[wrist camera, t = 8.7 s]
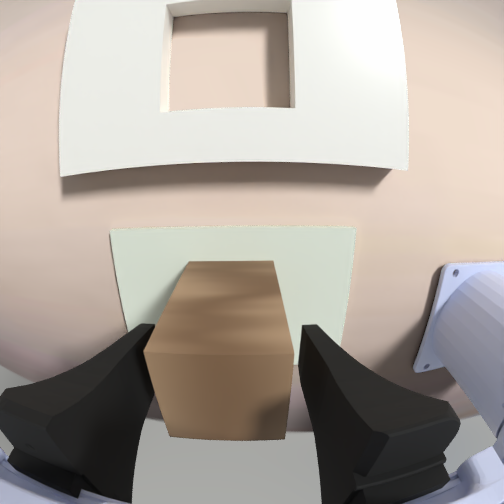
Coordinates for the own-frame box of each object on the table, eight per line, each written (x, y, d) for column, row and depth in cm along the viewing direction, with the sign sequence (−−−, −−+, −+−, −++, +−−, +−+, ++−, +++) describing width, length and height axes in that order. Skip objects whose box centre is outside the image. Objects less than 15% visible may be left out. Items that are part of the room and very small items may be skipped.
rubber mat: (353, 226, 14) (356, 228, 13) (335, 357, 16) (337, 361, 16) (113, 228, 14) (109, 230, 13) (137, 356, 16) (135, 360, 16)
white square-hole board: (381, -2, 10) (392, -14, 8) (393, 168, 13) (408, 170, 11) (87, 7, 9) (75, -2, 8) (76, 173, 13) (60, 176, 11)
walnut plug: (273, 260, 14) (294, 353, 7) (271, 331, 15) (285, 439, 8) (188, 261, 14) (143, 351, 7) (196, 331, 15) (169, 436, 8)
